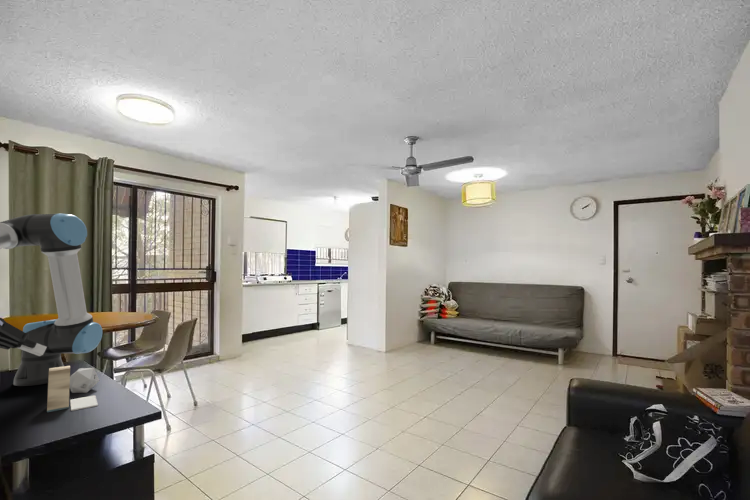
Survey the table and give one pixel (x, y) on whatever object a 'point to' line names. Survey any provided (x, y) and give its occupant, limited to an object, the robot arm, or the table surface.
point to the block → (58, 388)
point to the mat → (83, 403)
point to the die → (83, 380)
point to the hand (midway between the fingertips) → (43, 351)
